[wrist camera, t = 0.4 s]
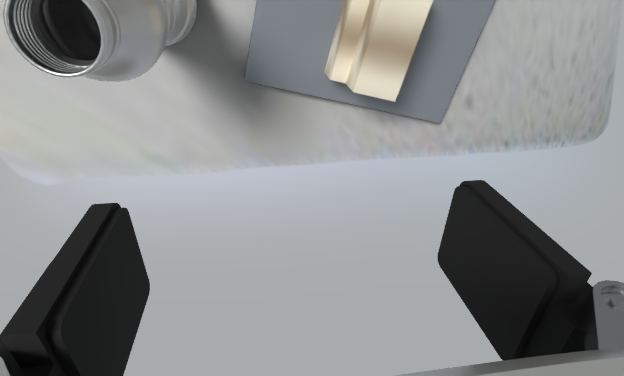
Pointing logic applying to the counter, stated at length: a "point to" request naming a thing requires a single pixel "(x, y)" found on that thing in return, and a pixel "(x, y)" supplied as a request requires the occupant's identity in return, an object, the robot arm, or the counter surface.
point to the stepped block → (376, 44)
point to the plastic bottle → (96, 34)
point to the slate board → (318, 39)
